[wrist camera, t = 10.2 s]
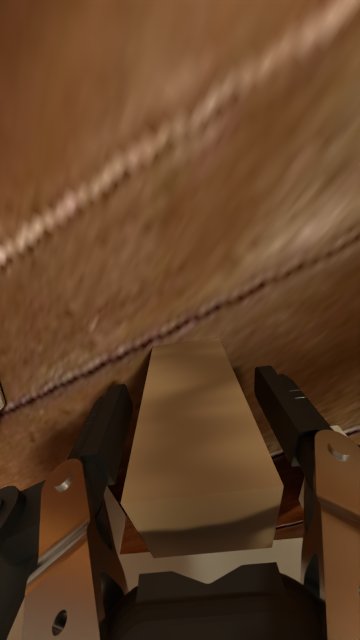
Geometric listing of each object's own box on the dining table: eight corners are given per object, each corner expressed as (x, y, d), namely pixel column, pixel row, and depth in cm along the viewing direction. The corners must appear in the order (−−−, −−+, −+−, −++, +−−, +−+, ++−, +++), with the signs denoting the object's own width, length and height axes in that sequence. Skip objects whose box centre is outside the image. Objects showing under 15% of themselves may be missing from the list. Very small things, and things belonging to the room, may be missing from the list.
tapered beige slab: (219, 337, 11) (283, 486, 4) (230, 515, 21) (254, 639, 14) (152, 346, 11) (120, 502, 4) (195, 518, 21) (204, 642, 14)
